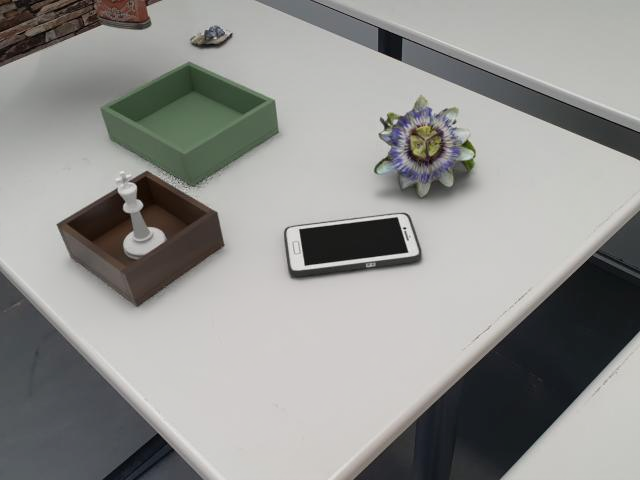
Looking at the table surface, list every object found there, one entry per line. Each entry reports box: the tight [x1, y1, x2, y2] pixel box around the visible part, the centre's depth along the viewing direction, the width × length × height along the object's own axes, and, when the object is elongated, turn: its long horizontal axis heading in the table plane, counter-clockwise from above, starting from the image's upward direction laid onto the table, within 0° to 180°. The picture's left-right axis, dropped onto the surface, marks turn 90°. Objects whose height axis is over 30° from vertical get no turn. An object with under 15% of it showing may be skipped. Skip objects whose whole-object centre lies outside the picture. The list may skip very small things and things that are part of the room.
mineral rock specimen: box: [189, 25, 230, 46], centre depth 114 cm, size 7×8×2 cm
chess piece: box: [114, 170, 167, 260], centre depth 75 cm, size 5×5×10 cm
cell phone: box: [283, 212, 423, 277], centre depth 77 cm, size 8×15×1 cm, turn 97°
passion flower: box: [373, 94, 477, 198], centre depth 84 cm, size 11×11×12 cm
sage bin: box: [99, 61, 280, 187], centre depth 93 cm, size 18×16×5 cm
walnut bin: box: [56, 170, 225, 307], centre depth 78 cm, size 13×13×5 cm
